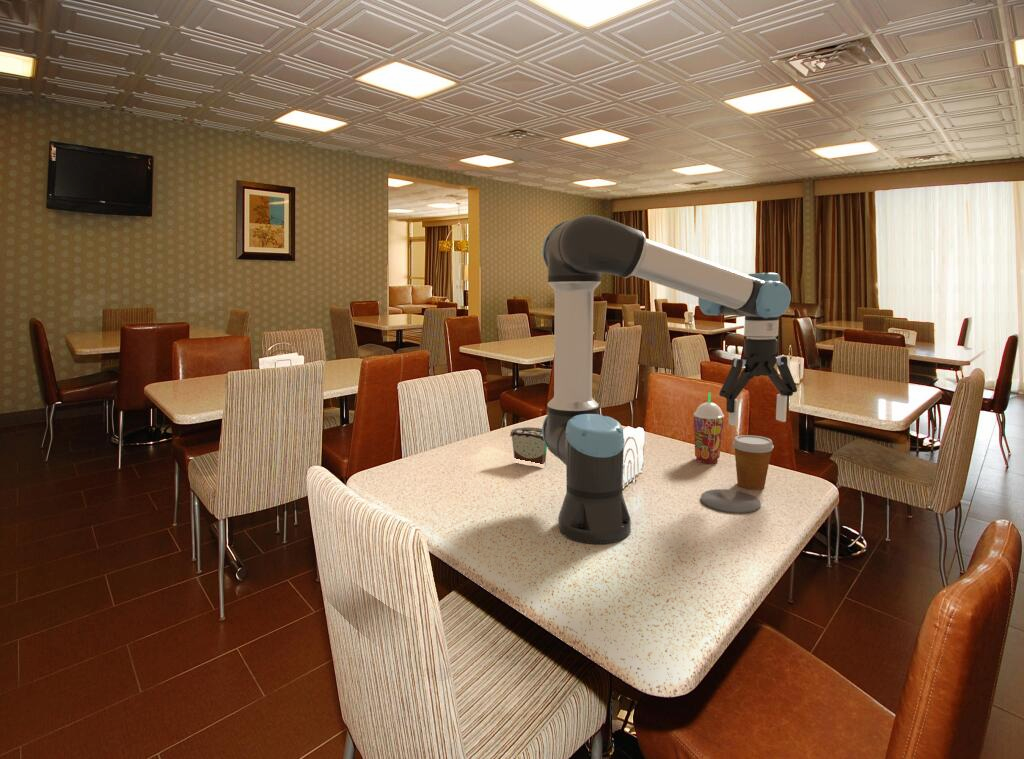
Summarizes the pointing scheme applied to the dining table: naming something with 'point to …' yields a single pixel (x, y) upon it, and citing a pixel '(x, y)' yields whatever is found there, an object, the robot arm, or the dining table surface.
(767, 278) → the robot arm
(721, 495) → the coaster
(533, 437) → the food container
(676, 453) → the dining table surface
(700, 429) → the smoothie
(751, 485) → the disposable coffee cup
